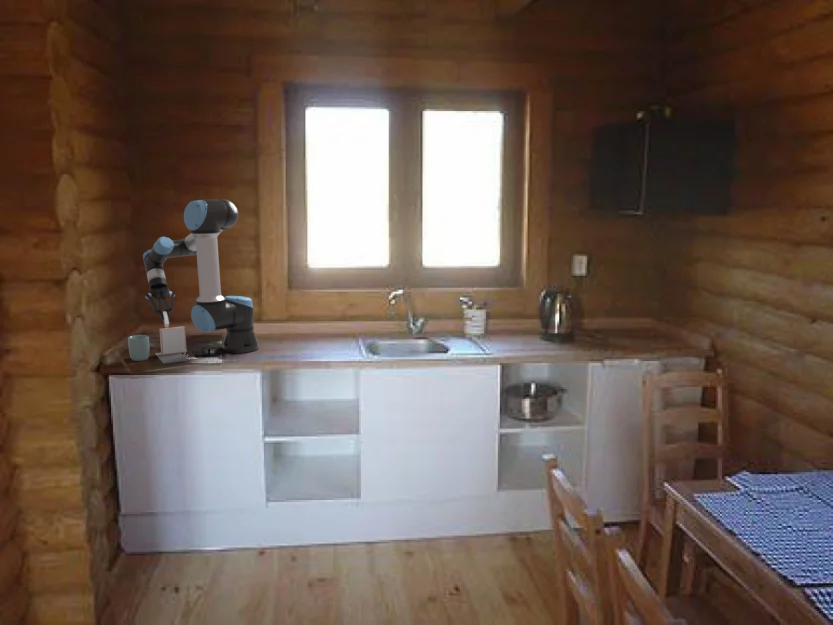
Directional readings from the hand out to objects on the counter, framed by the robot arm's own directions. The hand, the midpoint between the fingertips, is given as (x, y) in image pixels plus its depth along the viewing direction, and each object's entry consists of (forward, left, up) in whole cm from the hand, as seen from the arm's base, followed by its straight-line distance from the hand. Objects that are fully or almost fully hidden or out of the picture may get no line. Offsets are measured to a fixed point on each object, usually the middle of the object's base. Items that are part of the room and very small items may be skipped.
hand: (167, 325), depth 319 cm
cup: (+4, +18, -11) cm, 21 cm away
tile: (-6, +8, -10) cm, 14 cm away
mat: (-9, +12, -11) cm, 18 cm away
